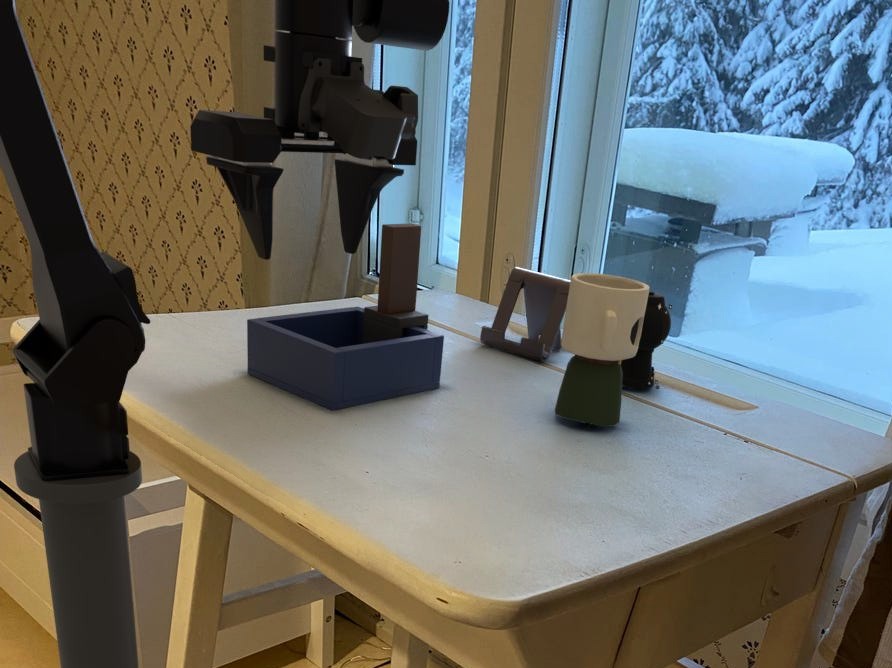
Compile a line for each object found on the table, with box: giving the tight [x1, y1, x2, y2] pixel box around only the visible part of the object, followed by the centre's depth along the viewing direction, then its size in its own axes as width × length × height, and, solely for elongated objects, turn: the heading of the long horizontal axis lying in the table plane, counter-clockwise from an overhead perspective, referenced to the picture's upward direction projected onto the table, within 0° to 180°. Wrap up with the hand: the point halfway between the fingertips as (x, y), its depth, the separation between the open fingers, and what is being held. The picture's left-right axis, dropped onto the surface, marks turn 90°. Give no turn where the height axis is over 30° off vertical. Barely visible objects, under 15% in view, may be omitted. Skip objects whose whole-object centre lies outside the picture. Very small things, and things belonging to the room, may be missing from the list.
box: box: [246, 306, 445, 411], centre depth 94 cm, size 14×12×5 cm
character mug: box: [554, 272, 650, 428], centre depth 89 cm, size 11×7×13 cm, turn 179°
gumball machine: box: [621, 290, 673, 390], centre depth 103 cm, size 7×6×10 cm
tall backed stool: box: [362, 222, 429, 344], centre depth 95 cm, size 4×5×12 cm
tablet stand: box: [479, 266, 571, 363], centre depth 112 cm, size 9×8×8 cm
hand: (308, 255), depth 80 cm, fingers open, 9 cm apart
